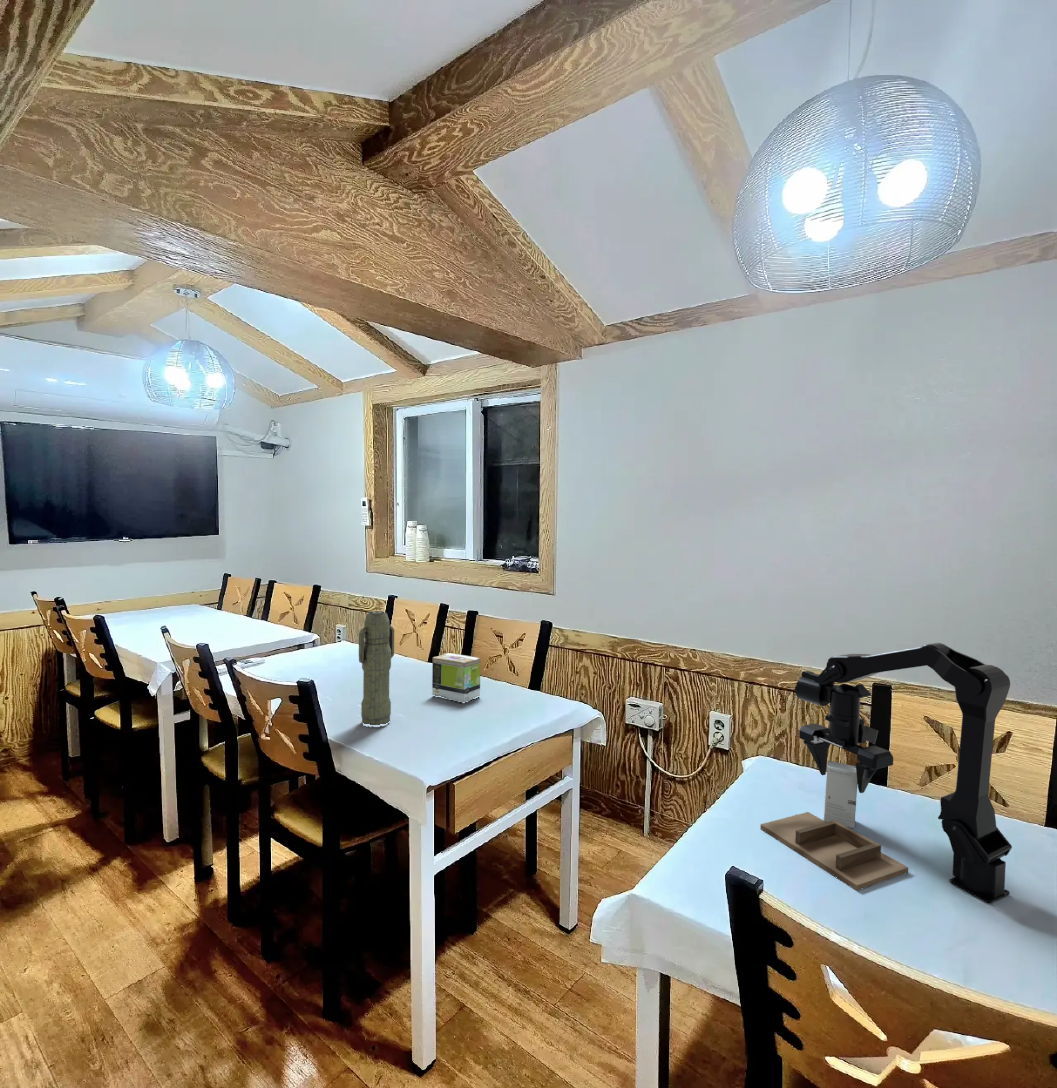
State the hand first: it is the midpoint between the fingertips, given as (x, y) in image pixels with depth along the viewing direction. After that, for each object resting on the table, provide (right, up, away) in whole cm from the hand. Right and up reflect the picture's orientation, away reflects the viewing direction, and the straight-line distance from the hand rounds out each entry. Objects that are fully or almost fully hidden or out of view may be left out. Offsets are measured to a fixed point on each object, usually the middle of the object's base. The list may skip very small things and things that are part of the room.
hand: (841, 783), depth 125 cm
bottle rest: (-8, -9, -11) cm, 16 cm away
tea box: (-95, -4, +83) cm, 126 cm away
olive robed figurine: (-116, -4, +55) cm, 129 cm away
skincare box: (0, -9, 0) cm, 9 cm away
